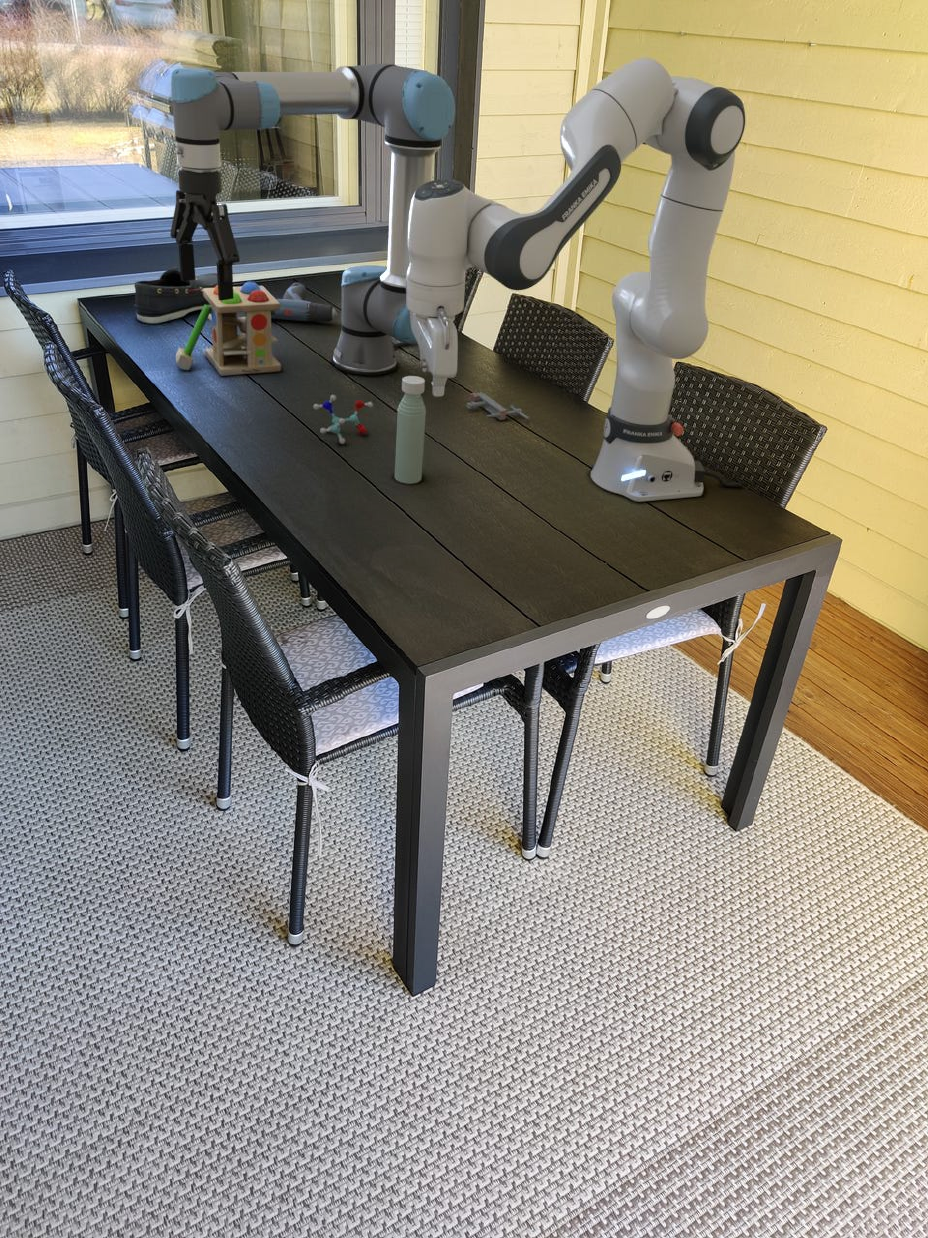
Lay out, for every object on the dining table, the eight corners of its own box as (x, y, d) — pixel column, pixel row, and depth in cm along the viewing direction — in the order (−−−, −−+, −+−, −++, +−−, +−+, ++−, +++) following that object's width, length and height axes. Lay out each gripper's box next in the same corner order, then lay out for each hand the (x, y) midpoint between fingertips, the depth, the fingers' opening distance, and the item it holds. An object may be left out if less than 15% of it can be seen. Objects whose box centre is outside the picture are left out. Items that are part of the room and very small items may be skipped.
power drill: (344, 304, 276) (335, 327, 259) (277, 298, 275) (264, 321, 258) (344, 285, 273) (335, 306, 256) (277, 279, 272) (264, 300, 255)
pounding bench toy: (183, 379, 220) (176, 299, 210) (169, 357, 231) (162, 280, 221) (282, 371, 230) (280, 294, 220) (264, 350, 240) (262, 276, 230)
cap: (401, 385, 181) (402, 375, 180) (423, 386, 182) (424, 376, 181) (402, 393, 178) (402, 383, 177) (424, 395, 178) (425, 384, 177)
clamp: (458, 394, 221) (496, 389, 226) (457, 403, 222) (495, 398, 227) (493, 419, 211) (531, 413, 215) (492, 429, 212) (530, 423, 216)
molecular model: (360, 436, 195) (343, 387, 193) (320, 451, 198) (303, 403, 197) (383, 432, 205) (367, 385, 204) (345, 446, 209) (329, 401, 207)
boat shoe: (245, 302, 271) (243, 263, 266) (154, 325, 248) (149, 283, 242) (211, 293, 277) (208, 255, 272) (119, 316, 253) (114, 274, 248)
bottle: (394, 471, 192) (398, 375, 181) (421, 472, 192) (427, 377, 181) (394, 483, 187) (399, 386, 176) (422, 484, 188) (428, 388, 177)
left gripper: (145, 155, 179) (155, 274, 191) (217, 183, 164) (224, 310, 176) (182, 153, 183) (190, 269, 195) (256, 180, 169) (260, 304, 181)
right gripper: (470, 320, 142) (464, 409, 150) (442, 274, 157) (439, 357, 166) (427, 321, 140) (424, 410, 149) (403, 275, 156) (402, 358, 164)
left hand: (206, 289), depth 186 cm, fingers open, 13 cm apart
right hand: (431, 382), depth 157 cm, fingers open, 8 cm apart
